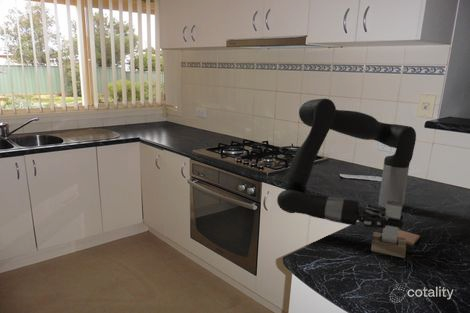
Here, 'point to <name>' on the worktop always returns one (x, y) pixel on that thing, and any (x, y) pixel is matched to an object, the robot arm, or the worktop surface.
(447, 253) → the worktop surface
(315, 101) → the robot arm
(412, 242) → the tile
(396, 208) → the grey tapered block
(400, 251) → the socket block
